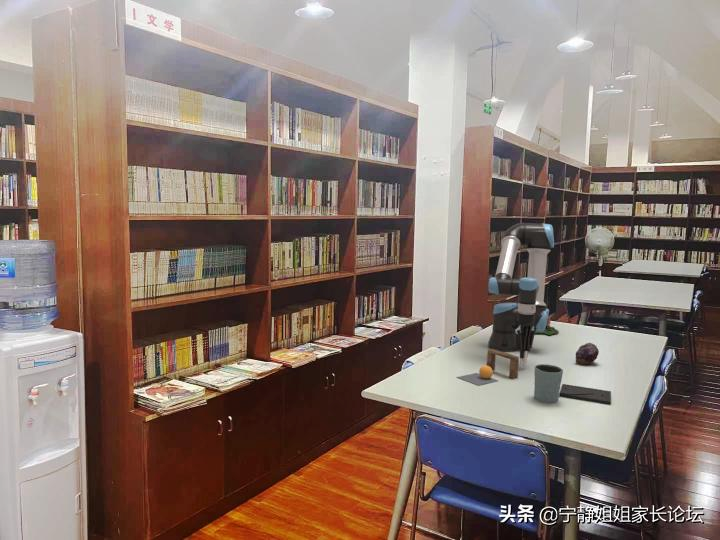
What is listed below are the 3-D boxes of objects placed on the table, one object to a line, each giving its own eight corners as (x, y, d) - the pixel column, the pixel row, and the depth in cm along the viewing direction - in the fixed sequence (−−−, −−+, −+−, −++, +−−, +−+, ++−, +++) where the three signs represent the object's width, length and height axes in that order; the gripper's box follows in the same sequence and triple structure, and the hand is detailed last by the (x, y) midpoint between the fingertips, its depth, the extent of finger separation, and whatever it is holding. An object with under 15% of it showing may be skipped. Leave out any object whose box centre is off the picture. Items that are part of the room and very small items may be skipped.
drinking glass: (540, 392, 208) (542, 362, 206) (565, 399, 201) (568, 368, 199) (527, 398, 201) (529, 367, 199) (553, 406, 193) (555, 373, 192)
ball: (482, 361, 225) (486, 370, 228) (474, 370, 223) (479, 379, 225) (492, 364, 221) (497, 373, 223) (485, 373, 219) (489, 383, 221)
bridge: (512, 379, 224) (514, 357, 223) (486, 370, 236) (487, 349, 235) (517, 377, 226) (519, 356, 225) (491, 369, 237) (492, 348, 236)
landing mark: (456, 377, 224) (456, 377, 224) (476, 373, 230) (476, 372, 230) (478, 385, 214) (478, 385, 214) (498, 381, 221) (498, 380, 221)
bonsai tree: (517, 325, 333) (520, 274, 330) (559, 329, 324) (563, 277, 320) (510, 336, 301) (514, 281, 298) (556, 341, 292) (560, 284, 288)
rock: (571, 366, 250) (595, 370, 244) (571, 348, 249) (595, 351, 242) (579, 357, 260) (602, 360, 253) (579, 339, 258) (602, 342, 251)
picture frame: (559, 398, 204) (610, 406, 196) (559, 392, 204) (610, 401, 196) (562, 388, 216) (610, 396, 208) (562, 383, 216) (611, 390, 208)
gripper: (523, 315, 229) (520, 369, 232) (542, 313, 236) (539, 365, 239) (509, 312, 235) (506, 364, 238) (528, 310, 243) (525, 360, 245)
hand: (523, 364), depth 238 cm, fingers closed
